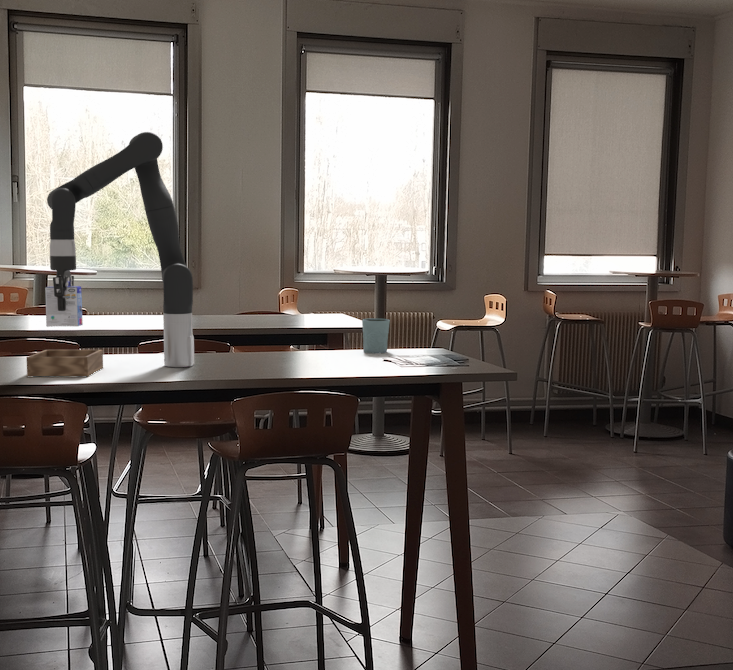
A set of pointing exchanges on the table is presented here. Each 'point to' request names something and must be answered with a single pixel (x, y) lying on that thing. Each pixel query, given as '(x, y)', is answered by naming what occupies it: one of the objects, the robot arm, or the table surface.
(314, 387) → the table surface
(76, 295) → the ink cartridge box
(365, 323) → the grey tapered piece
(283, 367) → the table surface
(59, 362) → the walled box
